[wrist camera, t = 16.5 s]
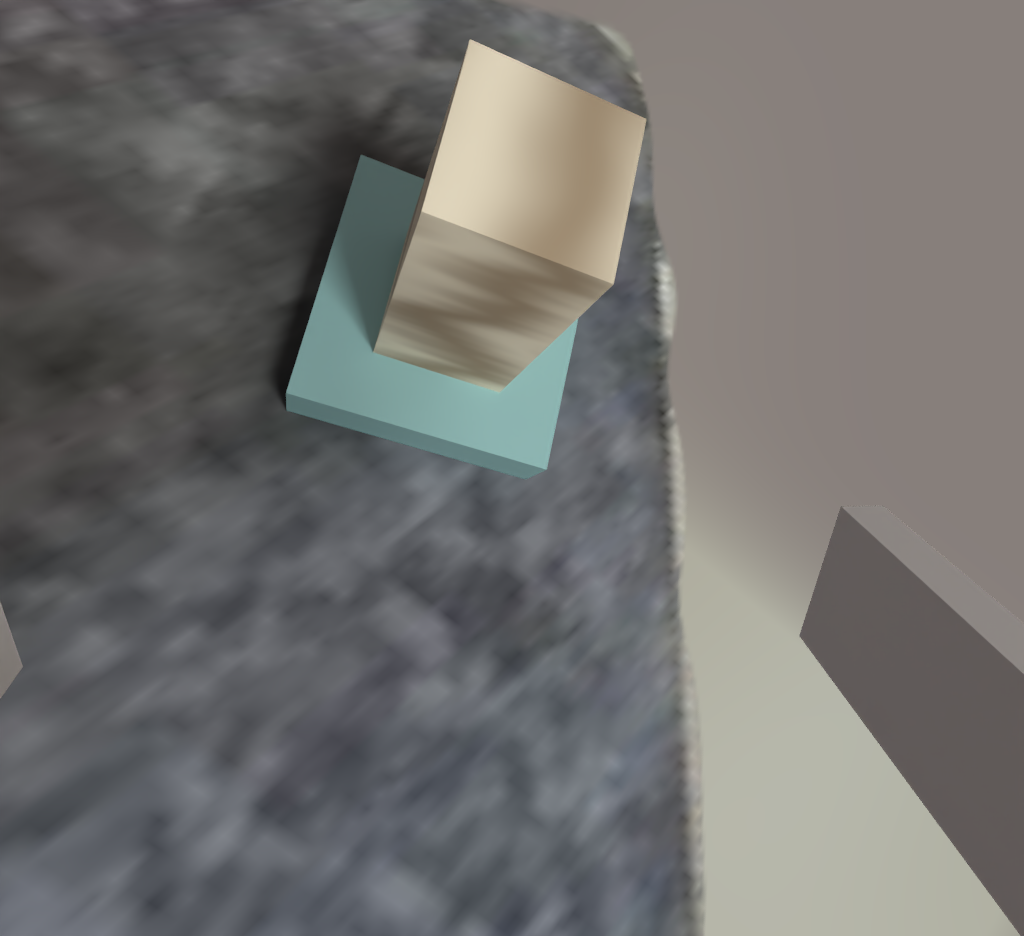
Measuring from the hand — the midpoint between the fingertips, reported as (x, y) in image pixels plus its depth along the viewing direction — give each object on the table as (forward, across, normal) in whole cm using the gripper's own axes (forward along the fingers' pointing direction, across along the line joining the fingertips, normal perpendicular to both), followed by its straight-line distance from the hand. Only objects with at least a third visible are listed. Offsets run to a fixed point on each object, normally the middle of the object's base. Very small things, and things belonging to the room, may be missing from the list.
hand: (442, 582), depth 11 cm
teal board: (+25, +1, -3) cm, 25 cm away
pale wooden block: (+23, +1, -2) cm, 23 cm away
